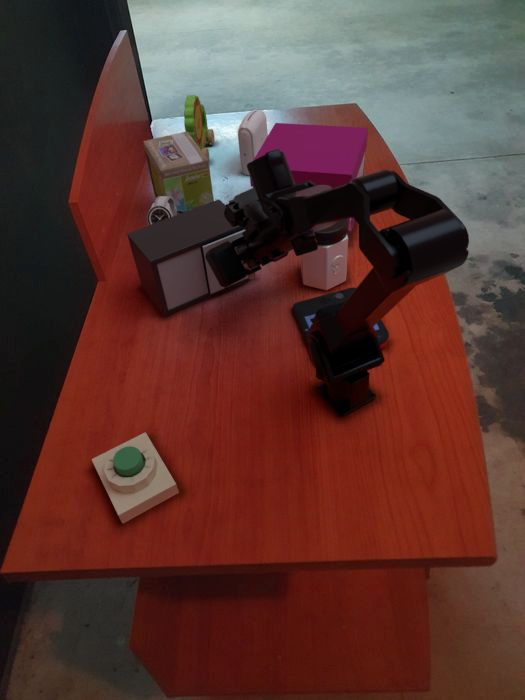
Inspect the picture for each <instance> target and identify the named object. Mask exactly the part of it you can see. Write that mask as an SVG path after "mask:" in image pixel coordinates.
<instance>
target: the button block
mask: <svg viewBox="0 0 525 700" xmlns="http://www.w3.org/2000/svg"><path fill="white" fill-rule="evenodd" d="M128 446H132V447H136V448H137V449H139V451H140V452H141V455H142V457H143V460H144V465H143V468H142V470H141V471H140V472H139V473H138V474H136V475H134V476H132V477H123V476H121V475H120V474H118V472H117V470H116V468H115V466H114V463H113V458H114V456H115V454H116V453H117V452H118V451H119V450H120V449H122V448H124V447H128ZM91 462H92V464H93V466H94V468H95V470H96V472H97V474H98V476H99V478H100V480H101V483H102V485H103V487H104V489H105V491H106V493H107V495H108V498H109V499H110V502H111V503H112V505H113V508H114V510H115V512H116V514H117V517H118V519H119V520H120V522H121V524H122V525H123V524H125V523H127V522H129V521H130V520H132V519H134V518H136V517H138V516H140V515H142V513H145V512H146V511H148V510H151V509H152V508H154V507H156V506H157V505H159V504H161V503H163V502H165V501H166V500H169V499H170V498H172V497H174V496H176V495H178V494H179V493H180V492H179V489H178V486H177V483H176V481H175V479H174V478H173V476H172V474H171V472H170V471H169V470H168V468H167V466H166V463H164V461H163V459H162V457H161V456H160V453H159V452H158V451H157V449H156V447H155V446H154V444H153V442H152V441H151V439H150V437H149V436H148V434H147V432H146V431H145V432H143V433H141V434H139V435H137V436H135V437H133V438H131V439H129V440H127V441H125V442H123V443H121V444H119V445H117V446H115V447H112V448H111V449H109V450H106V451H105V452H103V453H101V454H99V455H97V456H95V457H93V458H92V459H91Z"/></svg>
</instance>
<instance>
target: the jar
mask: <svg viewBox="0 0 525 700" xmlns="http://www.w3.org/2000/svg"><path fill="white" fill-rule="evenodd" d="M347 230H348V219H343V220H339V221H338V222H337V223H335V224H334V225H332V226H331V227H328V228H325V229H322V230H319V231H316V232H317V243H318V249H317V250H316V251H312V252H309V253H306V254H303V255H300V256H299V257H300V259H299V261H300V263H299V264H300V274H301V279H302V285H304V286H307V287H311V288H315V289H319V290H321V291H322V290H323V291H328V290H330V289H332V288H335V287H336V286H339V285H340V284H343V283H345V282H346V281H347V274H348V273H347V270H348V251H349V241H348V236H347Z"/></svg>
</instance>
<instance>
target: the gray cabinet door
mask: <svg viewBox="0 0 525 700" xmlns="http://www.w3.org/2000/svg"><path fill="white" fill-rule="evenodd" d="M244 231H245V229H244V230H242V231H240V232H237V233H235V234H232V235H230V236H227V237H225V238H222V239H220V240H217V241H215V242H212V243H210V244H207V245H205V246H202V247H203V253H204V259H205V265H206V271H207V276H208V282H209V288H210V293H211V294H213V293H215V292H217V291H219V290H222V289H224V287H222V286H220V284H219V282H218V280H217V278H216V277H215V275H214V273H213V271H212V269H211V267H210V265H209V263H208V262H207V260H206V258H205V256H206V253H207V252H208V251H209V250H210V249H212V248H214V247H216V246H218V245H220V244H222V243H224V242H227V241H229V242H230V243H231V242H232V241H234V240H236V239H238V238H240V237H243V235H242V233H243V232H244ZM247 241H249V240H247ZM247 278H249V279H251V280H255V278H256V272H255V273H253V274H251V275H247V276H246V277H245V278H243V279H241V280H240V281H242V280H245V279H247ZM251 280H250V281H251ZM240 281H238V282H240ZM238 282H236V283H238ZM236 283H234V284H236ZM232 285H233V284H232ZM230 286H231V285H230ZM228 287H229V286H228Z"/></svg>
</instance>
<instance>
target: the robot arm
mask: <svg viewBox="0 0 525 700" xmlns="http://www.w3.org/2000/svg"><path fill="white" fill-rule="evenodd" d="M247 169H248V172H249V175H248V176H249V178H250V177H251V180H252V183H253V185H254V188H253V187H252V188H249V189H247V190H245V191H243V192H241V193H238V194H236V195H235V196H234V198H233V199H230V200H229V201H228V203H227V204H225V205H226V208H225V211H224V216H225V218H226V219H227V221H228V222H229V223H230V225H231V226H232V227H235V226H240V227H241V228H242V227H243V228H244V229H245V231H244V232H243V233H242V235H243V237H240V238H238V239H236V240H234V241H232V242H231V243H230V242H229V241H227V242H224V243H222V244H220V245H218V246H216V247H214V248H212V249H210V250H209V251H208V252H207V253H206V256H205V258H206V260H207V262H208V263H209V265H210V267H211V269H212V271H213V273H214V275H215V277H216V278H217V280H218V282H219V284H220V286H222V287H224V288H226V287H228V286H230V285H232V284H234V283H236V282H238V281H240V280H241V279H243V278H245V277H246V276H247V275H251V274H253V273H255V274H256V272H258V271H260V270H262V267H264V266H266V265H268V264H270V263H275V262H278V261H280V260H282V259H284V258H286V257H288V255H289V253H290V252H291V251H293V252H294V254H295V256H296V257H300V255H303V254H306V253H309V252H312V251H316V250H317V249H318V243H317V232H316V231H319V230H322V229H325V228H328V227H331V226H332V225H334V224H335V223H337V222H338V221H339V220H343V219H348V218H354V219H355V222H356V223H357V225H358V248H359V251H360V252H361V253H362V255H363V256H364V257H365V258H366V260H367V261H368V262H369V263H370V265H371V266H372V267H371V269H370V270H369V272H368V273H367V274H366V275H365V276H364V278H363V279H362V281H361V282H360V283H359V284H358V285H357V286H356V287H355V288H356V289H355V290H354V292H353V293H352V294H351V295H350V297H349V298H348V299H345V300H342V301H340V302H337V303H334V304H332V305H329V306H326V307H323V308H321V309H319V310H318V311H317V312H316V314H315V317H314V318H312V319H310V321H311V322H312V323H313V324H311V326H310V331H309V332H310V333H309V335H308V344H309V347H308V349H309V355H310V359H311V364H312V366H313V368H314V369H315V378H316V379H317V380H318V381H322V382H323V383H321V384H320V385H317V386H316V388H315V391H316V393H317V394H318V395H319V396H320V397H321V398H322V399H323V400H324V401H325V402H326V403H327V405H328V406H329V407H330V408H331V409H332V410H333V411H334V412H335V413H336V414H337V415H338V416H339V417H341V418H344V417H346V416H347V415H349V414H351V413H352V412H354V411H356V410H358V409H360V408H361V407H363V406H365V405H367V404H369V403H370V402H372V401H374V400H375V399H376V396H377V395H376V393H375V392H374V391H372V390H371V388H369V387H370V386H369V385H370V375H371V373H370V372H369V371H370V370H372V369H375V368H379V367H381V366H382V365H383V364H384V362H385V356H384V354H383V351H382V349H381V348H380V345H379V342H378V340H377V337H376V334H377V333H376V331H375V328H374V326H375V325H376V324H377V323H378V322H379V321H380V320H382V319H383V318H384V317H385V316H387V314H388V313H389V312H391V310H393V309H394V308H395V307H396V306H397V305H398V304H399V303H400V302H401V301H403V299H404V298H405V297H406V296H407V295H408V294H409V293H411V291H413V289H414V288H416V287H417V286H420V285H421V284H424V283H426V282H428V281H430V280H434V279H435V278H438V277H440V276H443V275H445V274H447V273H449V272H451V271H453V270H455V269H458V268H460V267H461V266H463V265H464V264H465V263H466V261H467V260H468V256H469V253H470V251H469V250H468V248H469V245H470V244H469V243H470V237H469V236H470V235H469V232H468V229H467V226H465V224H464V223H463V221H462V220H461V219H460V218H459V217H458V216H457V215H456V214H455V213H454V212H453V211H452V210H451V209H450V207H448V205H446V203H445V202H444V201H443V200H442V199H441V198H440V197H438V196H437V195H435V194H433V193H430V192H428V191H425V190H423V189H420V188H418V187H416V186H413V185H412V184H409V183H407V182H406V181H405V180H404V179H403V178H402V177H401V175H400V174H398V172H396V171H395V170H394V169H392V170H391V169H389V170H388V169H381V170H377V171H374V172H370V173H367V174H364V175H363V176H360V177H357V178H354V179H352V180H351V181H350V182H349V183H347V184H344V185H341V186H338V187H335V188H331V186H329V185H317V184H315V183H313V182H312V181H310V180H309V181H306V182H303V183H299V184H295V181H294V178H293V176H292V173H291V170H290V167H289V165H288V162H287V159H286V156H285V154H284V152H280V150H279V149H276V150H273V151H269V152H266V154H265V155H264V156H261V157H259V158H257V159H256V160H254V161H252V162H250V163H248V164H247ZM389 210H393V212H394V213H396V214H397V215H399V216H401V217H404V218H405V219H408V220H405V221H402V222H399V223H396V224H394V225H391V226H388V227H384V228H382V229H380V230H378V229H377V228H376V226H375V225H374V224H373V222H371V216H373V215H376V214H379V213H383V212H386V211H389ZM247 240H249V241H247ZM308 344H307V345H308Z"/></svg>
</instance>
